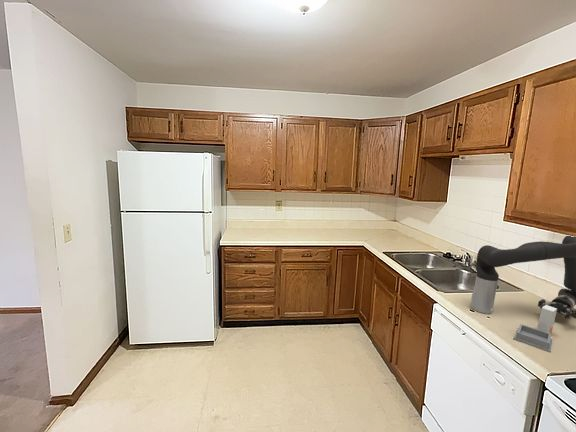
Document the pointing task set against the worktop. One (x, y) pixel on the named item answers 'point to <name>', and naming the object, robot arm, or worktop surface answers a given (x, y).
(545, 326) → the skincare box
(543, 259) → the robot arm
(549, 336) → the square gray tray
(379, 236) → the worktop surface
